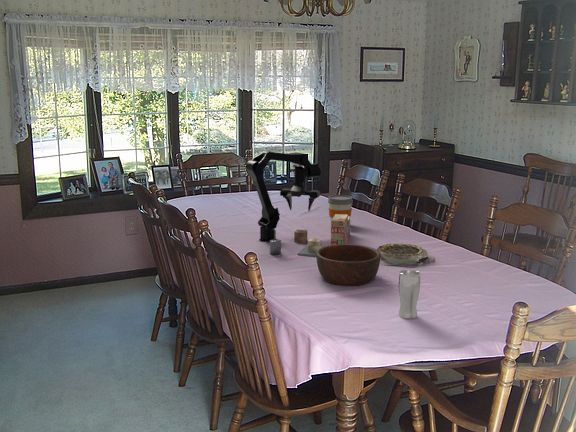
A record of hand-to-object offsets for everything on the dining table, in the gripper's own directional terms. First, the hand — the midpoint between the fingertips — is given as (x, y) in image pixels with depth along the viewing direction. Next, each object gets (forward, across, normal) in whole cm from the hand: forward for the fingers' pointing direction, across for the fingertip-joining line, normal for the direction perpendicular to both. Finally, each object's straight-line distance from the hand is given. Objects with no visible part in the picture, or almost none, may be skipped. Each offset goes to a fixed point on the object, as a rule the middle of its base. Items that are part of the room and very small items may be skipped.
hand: (299, 210), depth 305 cm
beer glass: (+12, +63, -89) cm, 110 cm away
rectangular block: (+12, +4, -12) cm, 18 cm away
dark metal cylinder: (+12, -1, -35) cm, 37 cm away
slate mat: (+12, +15, -28) cm, 34 cm away
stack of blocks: (+12, +21, -4) cm, 25 cm away
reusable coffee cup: (+12, +15, +23) cm, 30 cm away
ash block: (+11, +15, -28) cm, 34 cm away
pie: (+13, +53, -24) cm, 59 cm away
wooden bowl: (+12, +36, -57) cm, 69 cm away
